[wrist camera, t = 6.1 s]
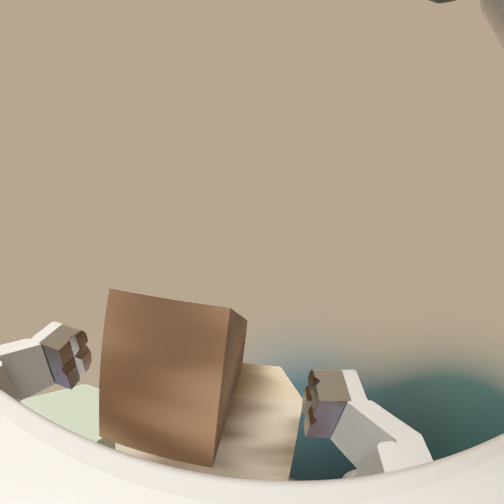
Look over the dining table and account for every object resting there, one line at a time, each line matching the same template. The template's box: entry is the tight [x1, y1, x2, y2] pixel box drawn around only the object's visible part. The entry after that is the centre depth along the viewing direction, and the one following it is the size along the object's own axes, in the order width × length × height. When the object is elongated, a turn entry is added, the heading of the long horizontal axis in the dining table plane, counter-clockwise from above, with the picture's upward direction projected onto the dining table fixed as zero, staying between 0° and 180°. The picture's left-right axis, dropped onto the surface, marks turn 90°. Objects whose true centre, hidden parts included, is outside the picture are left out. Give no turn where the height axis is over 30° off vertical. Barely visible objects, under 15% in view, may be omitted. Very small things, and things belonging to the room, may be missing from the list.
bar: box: [99, 289, 247, 468], centre depth 14 cm, size 3×18×4 cm, turn 0°
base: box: [21, 384, 116, 450], centre depth 14 cm, size 8×14×20 cm, turn 0°
